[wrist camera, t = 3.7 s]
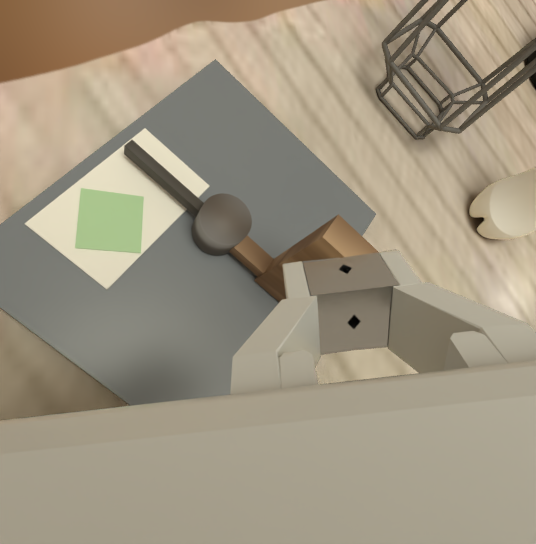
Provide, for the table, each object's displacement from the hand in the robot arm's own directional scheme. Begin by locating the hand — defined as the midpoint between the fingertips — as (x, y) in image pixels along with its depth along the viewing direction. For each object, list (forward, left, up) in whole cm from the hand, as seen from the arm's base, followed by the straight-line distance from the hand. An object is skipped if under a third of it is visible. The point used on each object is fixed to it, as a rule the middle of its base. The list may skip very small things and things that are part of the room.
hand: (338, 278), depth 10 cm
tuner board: (+7, +6, -21) cm, 23 cm away
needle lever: (+7, +4, -20) cm, 22 cm away
